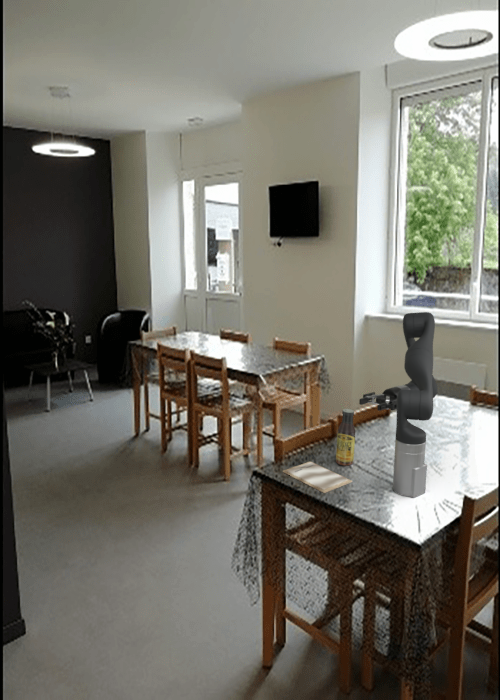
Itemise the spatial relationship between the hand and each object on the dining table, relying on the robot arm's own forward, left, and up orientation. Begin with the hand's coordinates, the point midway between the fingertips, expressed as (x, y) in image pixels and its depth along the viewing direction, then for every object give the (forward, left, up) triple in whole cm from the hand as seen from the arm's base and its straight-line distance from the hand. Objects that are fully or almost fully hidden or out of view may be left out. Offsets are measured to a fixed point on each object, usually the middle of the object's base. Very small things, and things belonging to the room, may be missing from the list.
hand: (369, 404), depth 203 cm
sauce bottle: (0, +12, -20) cm, 23 cm away
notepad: (-2, +28, -19) cm, 34 cm away
